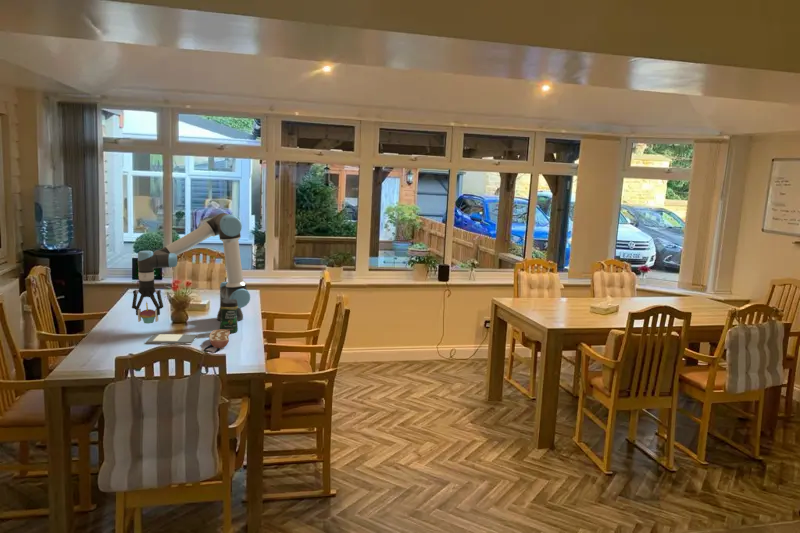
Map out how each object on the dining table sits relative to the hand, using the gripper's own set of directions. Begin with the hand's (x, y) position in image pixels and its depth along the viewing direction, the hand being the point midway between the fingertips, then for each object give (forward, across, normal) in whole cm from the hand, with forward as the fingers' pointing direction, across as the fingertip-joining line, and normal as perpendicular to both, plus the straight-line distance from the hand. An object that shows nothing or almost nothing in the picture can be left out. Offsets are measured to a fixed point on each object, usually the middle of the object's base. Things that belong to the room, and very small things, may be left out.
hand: (148, 321), depth 316 cm
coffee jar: (+8, +41, +5) cm, 42 cm away
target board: (+7, +15, -13) cm, 21 cm away
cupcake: (+1, 0, 0) cm, 1 cm away
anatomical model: (+8, +40, -19) cm, 45 cm away
